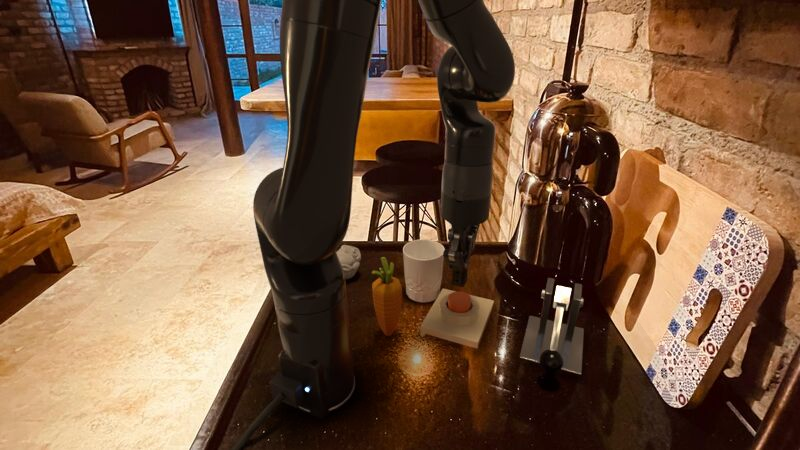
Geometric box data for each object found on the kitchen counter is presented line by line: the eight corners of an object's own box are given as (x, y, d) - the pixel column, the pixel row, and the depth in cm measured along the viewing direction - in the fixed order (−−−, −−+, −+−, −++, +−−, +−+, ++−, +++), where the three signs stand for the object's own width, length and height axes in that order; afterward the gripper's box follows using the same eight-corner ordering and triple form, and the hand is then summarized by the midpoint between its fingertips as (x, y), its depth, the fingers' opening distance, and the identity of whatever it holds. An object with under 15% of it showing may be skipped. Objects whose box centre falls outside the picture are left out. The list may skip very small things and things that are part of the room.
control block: (477, 352, 66) (479, 333, 64) (419, 336, 70) (420, 317, 68) (493, 309, 76) (495, 292, 74) (442, 297, 80) (442, 280, 78)
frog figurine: (368, 274, 87) (366, 245, 84) (345, 289, 82) (343, 260, 79) (347, 265, 91) (345, 237, 88) (324, 279, 86) (321, 250, 83)
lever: (560, 378, 58) (562, 372, 55) (536, 371, 59) (538, 365, 56) (573, 296, 64) (575, 287, 61) (551, 292, 65) (553, 283, 62)
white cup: (431, 309, 76) (432, 264, 72) (395, 296, 80) (394, 252, 75) (449, 288, 82) (451, 245, 78) (415, 277, 86) (415, 235, 81)
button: (467, 316, 69) (467, 307, 68) (444, 310, 70) (445, 302, 70) (473, 302, 72) (473, 294, 71) (451, 297, 74) (452, 289, 73)
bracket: (580, 380, 61) (595, 317, 56) (518, 362, 64) (528, 301, 59) (582, 333, 70) (596, 276, 64) (528, 320, 73) (537, 264, 68)
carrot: (399, 347, 67) (398, 271, 61) (370, 344, 68) (366, 268, 62) (405, 328, 72) (404, 254, 65) (378, 324, 73) (374, 252, 66)
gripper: (455, 172, 68) (449, 261, 76) (427, 199, 57) (424, 300, 65) (500, 178, 66) (489, 269, 73) (480, 208, 55) (470, 312, 62)
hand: (459, 283), depth 69 cm, fingers closed
